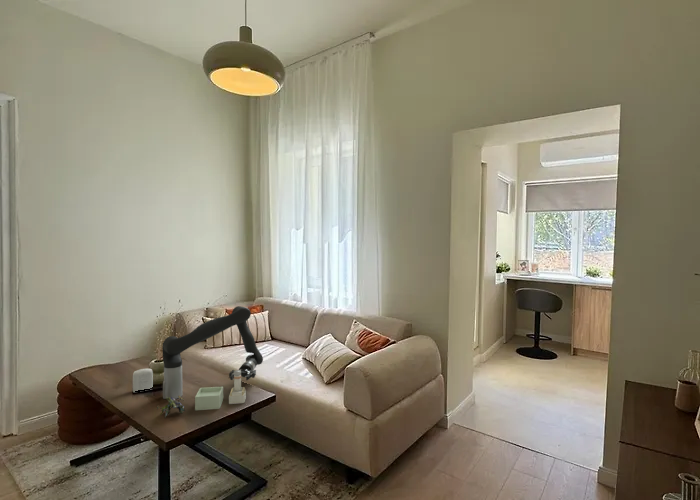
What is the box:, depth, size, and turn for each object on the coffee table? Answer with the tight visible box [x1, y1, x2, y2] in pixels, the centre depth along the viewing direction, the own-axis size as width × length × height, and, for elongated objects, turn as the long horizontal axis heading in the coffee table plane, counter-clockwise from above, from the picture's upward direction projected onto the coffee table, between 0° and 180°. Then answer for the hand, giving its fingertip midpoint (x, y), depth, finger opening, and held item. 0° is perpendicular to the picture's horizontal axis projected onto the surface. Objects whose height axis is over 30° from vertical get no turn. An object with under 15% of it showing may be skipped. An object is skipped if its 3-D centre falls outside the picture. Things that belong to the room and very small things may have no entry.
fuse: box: [233, 369, 242, 392], centre depth 208 cm, size 4×4×12 cm
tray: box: [194, 386, 224, 411], centre depth 203 cm, size 12×12×7 cm
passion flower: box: [156, 396, 186, 418], centre depth 190 cm, size 11×11×12 cm
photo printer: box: [132, 368, 154, 393], centre depth 221 cm, size 10×4×12 cm, turn 123°
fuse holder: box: [228, 386, 247, 405], centre depth 208 cm, size 8×8×6 cm
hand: (239, 378), depth 210 cm, fingers open, 8 cm apart
